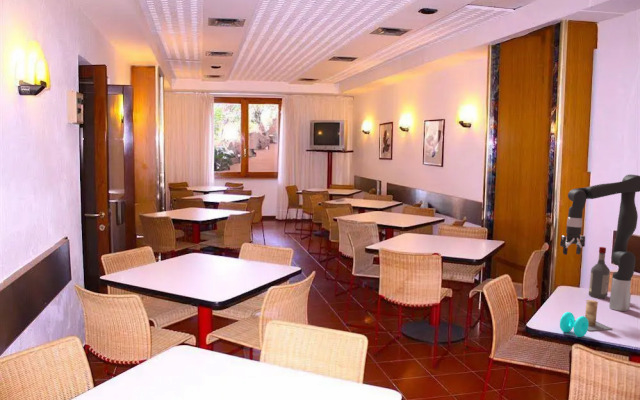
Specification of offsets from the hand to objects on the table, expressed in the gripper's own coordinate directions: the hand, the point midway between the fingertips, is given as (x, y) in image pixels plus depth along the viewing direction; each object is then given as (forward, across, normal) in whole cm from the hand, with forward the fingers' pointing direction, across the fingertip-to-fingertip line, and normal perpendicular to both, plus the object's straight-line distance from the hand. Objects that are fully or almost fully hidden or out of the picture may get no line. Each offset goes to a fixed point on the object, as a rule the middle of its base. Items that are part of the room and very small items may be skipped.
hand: (571, 254), depth 304 cm
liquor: (+30, +35, +15) cm, 49 cm away
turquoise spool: (+30, -28, -38) cm, 56 cm away
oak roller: (+30, -10, -29) cm, 43 cm away
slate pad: (+30, -10, -29) cm, 43 cm away
